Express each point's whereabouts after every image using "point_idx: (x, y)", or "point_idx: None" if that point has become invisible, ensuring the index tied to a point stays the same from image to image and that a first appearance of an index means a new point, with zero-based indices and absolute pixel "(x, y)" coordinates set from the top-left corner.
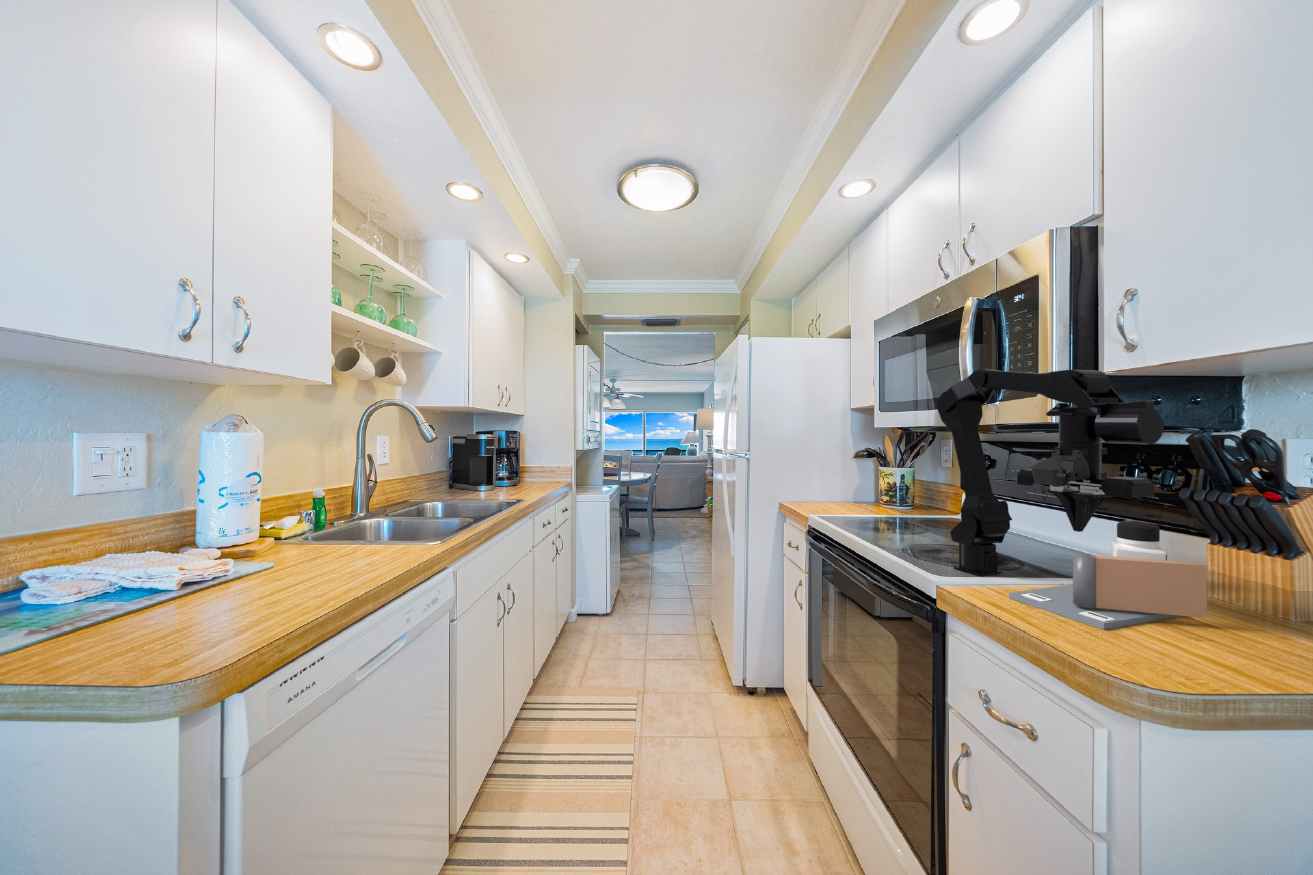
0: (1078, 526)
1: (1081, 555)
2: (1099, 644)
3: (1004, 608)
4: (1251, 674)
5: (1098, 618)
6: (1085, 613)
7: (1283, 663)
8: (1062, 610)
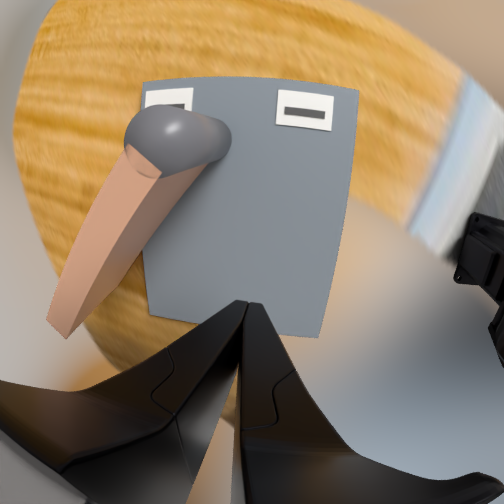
0: (224, 308)
1: (166, 139)
2: (123, 24)
3: (308, 20)
4: (29, 126)
5: (157, 92)
6: (184, 96)
7: (34, 199)
8: (221, 77)
